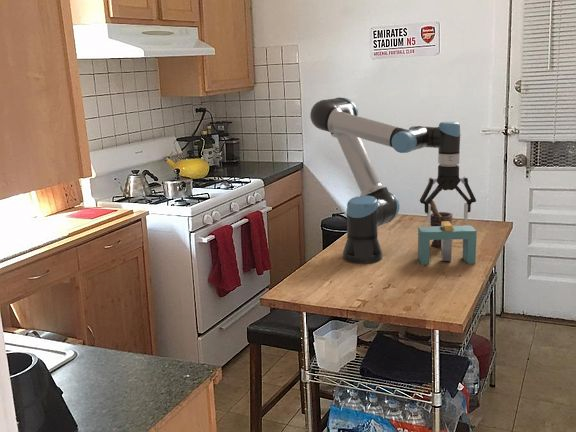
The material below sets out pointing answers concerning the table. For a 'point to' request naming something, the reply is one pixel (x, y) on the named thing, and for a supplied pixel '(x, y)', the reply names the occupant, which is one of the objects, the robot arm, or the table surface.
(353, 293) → the table surface
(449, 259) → the golden orange block
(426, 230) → the teal slotted arch
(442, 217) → the mortar and pestle
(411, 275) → the table surface
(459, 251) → the table surface
